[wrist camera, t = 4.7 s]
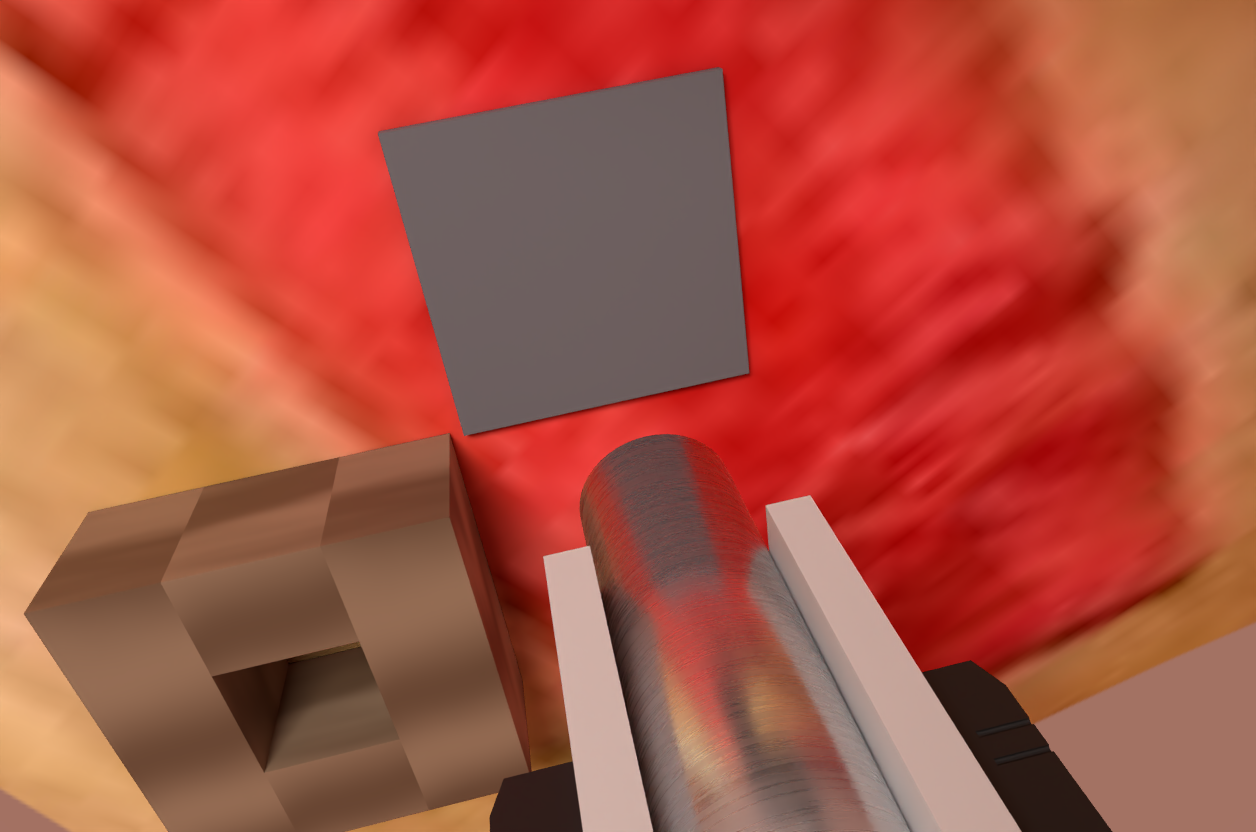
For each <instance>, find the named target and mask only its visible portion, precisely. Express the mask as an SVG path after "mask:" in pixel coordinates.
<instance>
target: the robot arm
mask: <svg viewBox="0 0 1256 832" xmlns="http://www.w3.org/2000/svg"><path fill="white" fill-rule="evenodd" d="M766 517H767V530H768V542H769V553H770V555H771V557H772V559H773V561H774V563H775V565H776V567H777V569H778V571H779V573H780V575H781V577H782V578H783V580H784V582H785V584H786V586H787V588H788V590H789V592H790V594H791V596H792V598H793V600H794V602H795V604H796V606H797V608H798V610H799V612H800V614H801V616H802V618H803V620H804V622H805V624H806V626H807V628H808V630H809V632H810V634H811V636H812V638H813V640H814V642H815V644H816V646H817V648H818V650H819V652H820V654H821V656H822V658H823V660H824V662H825V664H826V666H827V668H828V669H829V671H830V673H831V675H832V677H833V679H834V681H835V683H836V685H837V687H838V689H839V691H840V693H841V695H842V697H843V699H844V701H845V703H846V705H847V707H848V709H849V711H850V713H851V715H852V717H853V719H854V721H855V723H856V725H857V727H858V729H859V731H860V733H861V735H862V737H863V739H864V741H865V743H866V745H867V747H868V749H869V751H870V753H871V755H872V757H873V758H874V760H875V762H876V764H877V766H878V768H879V770H880V772H881V774H882V776H883V778H884V780H885V782H886V784H887V786H888V788H889V790H890V792H891V794H892V796H893V798H894V800H895V802H896V804H897V806H898V808H899V810H900V812H901V814H902V816H903V818H904V820H905V822H906V824H907V826H908V828H909V830H910V832H1112V831H1111V829H1110V828H1109V827H1108V826H1107V824H1106V823H1105V821H1104V820H1103V819H1102V817H1101V816H1100V814H1099V813H1098V811H1097V810H1096V809H1095V807H1094V806H1093V805H1092V803H1091V802H1090V801H1089V799H1088V798H1087V796H1086V795H1085V794H1084V792H1083V791H1082V790H1081V788H1080V787H1079V785H1078V784H1077V783H1076V781H1075V780H1074V779H1073V777H1072V776H1071V774H1070V773H1069V772H1068V770H1067V769H1066V768H1065V766H1064V765H1063V763H1062V762H1061V761H1060V759H1059V758H1058V757H1057V755H1056V754H1055V752H1051V750H1050V749H1049V744H1048V743H1047V741H1046V740H1045V739H1044V737H1043V736H1042V735H1041V733H1040V732H1039V731H1038V729H1037V728H1036V726H1035V725H1034V724H1031V722H1030V720H1029V717H1028V715H1027V714H1026V713H1025V711H1024V710H1023V709H1022V707H1021V706H1020V704H1019V703H1018V702H1017V700H1016V699H1015V698H1014V696H1013V695H1012V693H1011V692H1010V691H1009V689H1008V688H1007V687H1006V685H1005V684H1003V683H1002V682H1000V681H999V680H998V679H996V678H995V677H993V676H992V675H991V674H989V673H988V672H986V671H985V670H984V669H982V668H981V667H979V666H978V665H976V664H975V663H974V662H972V661H971V660H970V661H966V662H962V663H958V664H954V665H950V666H946V667H942V668H938V669H934V670H930V671H926V672H921V671H920V669H919V668H918V666H917V664H916V663H915V661H914V660H913V658H912V657H911V655H910V653H909V652H908V650H907V649H906V647H905V645H904V644H903V642H902V641H901V639H900V637H899V636H898V634H897V633H896V631H895V629H894V628H893V626H892V625H891V623H890V621H889V620H888V618H887V617H886V615H885V614H884V612H883V610H882V609H881V607H880V606H879V604H878V602H877V601H876V599H875V598H874V596H873V594H872V593H871V591H870V590H869V588H868V586H867V585H866V583H865V582H864V580H863V579H862V577H861V575H860V574H859V572H858V571H857V569H856V567H855V566H854V564H853V563H852V561H851V559H850V558H849V556H848V555H847V553H846V551H845V550H844V548H843V547H842V545H841V543H840V542H839V540H838V539H837V537H836V536H835V534H834V532H833V531H832V529H831V528H830V526H829V524H828V523H827V521H826V520H825V518H824V516H823V515H822V513H821V512H820V510H819V508H818V507H817V505H816V504H815V502H814V501H813V499H812V497H811V496H810V495H809V496H804V497H800V498H796V499H791V500H787V501H783V502H778V503H774V504H769V505H766ZM543 558H544V565H545V572H546V578H547V585H548V592H549V599H550V606H551V613H552V620H553V627H554V634H555V641H556V648H557V655H558V662H559V668H560V675H561V682H562V689H563V696H564V703H565V710H566V717H567V724H568V731H569V738H570V745H571V752H572V759H573V761H572V762H568V763H564V764H560V765H556V766H552V767H548V768H544V769H540V770H536V771H532V772H528V773H524V774H520V775H516V776H512V777H508V778H504V779H503V782H502V785H501V787H500V790H499V793H498V796H497V798H496V801H495V804H494V807H493V809H492V812H491V815H490V832H653V828H652V824H651V819H650V815H649V810H648V806H647V801H646V797H645V792H644V788H643V783H642V779H641V774H640V770H639V765H638V761H637V756H636V752H635V747H634V743H633V738H632V734H631V729H630V725H629V720H628V716H627V711H626V707H625V702H624V698H623V693H622V689H621V684H620V680H619V675H618V671H617V666H616V662H615V657H614V653H613V648H612V644H611V639H610V635H609V630H608V626H607V621H606V617H605V612H604V608H603V603H602V599H601V594H600V590H599V585H598V581H597V576H596V572H595V567H594V563H593V558H592V554H591V549H590V546H586V547H582V548H578V549H573V550H569V551H565V552H560V553H556V554H551V555H547V556H543Z"/></svg>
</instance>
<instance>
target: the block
mask: <svg viewBox="0 0 1256 832" xmlns="http://www.w3.org/2000/svg"><path fill="white" fill-rule="evenodd" d="M24 615H25V616H26V618H27V619H28V621H29V622H30V624H31V625H32V627H33V628H34V630H35V631H36V633H37V635H38V636H39V638H40V639H41V641H42V642H43V644H44V645H45V647H46V648H47V650H48V651H49V653H50V654H51V656H52V657H53V659H54V660H55V662H56V663H57V665H58V666H59V668H60V669H61V671H62V672H63V674H64V675H65V677H66V678H67V680H68V681H69V683H70V684H71V686H72V687H73V689H74V690H75V692H76V693H77V695H78V696H79V698H80V699H81V701H82V702H83V704H84V705H85V707H86V708H87V710H88V711H89V713H90V714H91V716H92V717H93V719H94V720H95V722H96V723H97V725H98V726H99V728H100V729H101V731H102V733H103V734H104V736H105V737H106V739H107V740H108V742H109V743H110V745H111V746H112V748H113V749H114V751H115V752H116V754H117V755H118V757H119V758H120V760H121V761H122V763H123V764H124V766H125V767H126V769H127V770H128V772H129V773H130V775H131V776H132V778H133V779H134V781H135V782H136V784H137V785H138V787H139V788H140V790H141V791H142V793H143V794H144V796H145V797H146V799H147V800H148V802H149V803H150V805H151V806H152V808H153V809H154V811H155V812H156V814H157V815H158V817H159V818H160V820H161V821H162V823H163V824H164V826H165V827H166V829H167V831H168V832H345V831H349V830H353V829H357V828H361V827H365V826H369V825H373V824H377V823H381V822H385V821H389V820H392V819H396V818H400V817H404V816H408V815H412V814H416V813H420V812H424V811H428V810H432V809H436V808H439V807H443V806H447V805H451V804H455V803H459V802H463V801H467V800H471V799H475V798H479V797H483V796H486V795H490V794H494V793H498V792H499V790H500V787H501V785H502V782H503V779H504V778H508V777H512V776H516V775H520V774H524V773H528V772H531V761H530V751H529V741H528V731H527V721H526V711H525V700H524V690H523V681H522V678H521V674H520V671H519V667H518V664H517V661H516V657H515V654H514V650H513V647H512V644H511V640H510V637H509V634H508V630H507V627H506V623H505V620H504V617H503V613H502V610H501V606H500V603H499V600H498V596H497V593H496V589H495V586H494V583H493V579H492V576H491V572H490V569H489V566H488V562H487V559H486V556H485V552H484V549H483V545H482V542H481V539H480V535H479V532H478V528H477V525H476V522H475V518H474V515H473V511H472V508H471V505H470V501H469V498H468V494H467V491H466V488H465V484H464V481H463V477H462V474H461V471H460V467H459V464H458V461H457V457H456V454H455V450H454V447H453V444H452V440H451V437H450V433H448V434H444V435H439V436H435V437H430V438H426V439H421V440H417V441H412V442H407V443H403V444H398V445H394V446H389V447H385V448H380V449H375V450H371V451H366V452H362V453H357V454H353V455H348V456H344V457H339V458H334V459H330V460H325V461H321V462H316V463H312V464H307V465H303V466H298V467H293V468H289V469H284V470H280V471H275V472H271V473H266V474H261V475H257V476H252V477H248V478H243V479H239V480H234V481H230V482H225V483H220V484H216V485H211V486H207V487H202V488H198V489H193V490H189V491H184V492H179V493H175V494H170V495H166V496H161V497H157V498H152V499H147V500H143V501H138V502H134V503H129V504H125V505H120V506H116V507H111V508H106V509H102V510H97V511H93V512H88V514H87V516H86V517H85V519H84V520H83V522H82V523H81V525H80V527H79V528H78V530H77V531H76V533H75V534H74V536H73V537H72V539H71V541H70V542H69V544H68V545H67V547H66V548H65V550H64V552H63V553H62V555H61V556H60V558H59V559H58V561H57V562H56V564H55V566H54V567H53V569H52V570H51V572H50V573H49V575H48V577H47V578H46V580H45V581H44V583H43V584H42V586H41V588H40V589H39V591H38V592H37V594H36V595H35V597H34V598H33V600H32V602H31V603H30V605H29V606H28V608H27V609H26V611H25V613H24ZM355 642H360V644H361V647H359V648H355V649H351V650H346V651H342V652H338V653H334V654H330V655H325V656H321V657H317V658H313V659H309V660H304V661H300V662H296V663H292V664H288V662H287V660H286V659H287V658H292V657H296V656H300V655H304V654H308V653H313V652H317V651H321V650H325V649H329V648H334V647H338V646H342V645H346V644H350V643H355Z"/></svg>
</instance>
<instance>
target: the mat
mask: <svg viewBox="0 0 1256 832" xmlns="http://www.w3.org/2000/svg"><path fill="white" fill-rule="evenodd" d="M378 136H379V139H380V143H381V146H382V150H383V153H384V157H385V160H386V164H387V167H388V171H389V174H390V178H391V181H392V185H393V188H394V192H395V195H396V199H397V202H398V206H399V209H400V213H401V216H402V220H403V223H404V227H405V230H406V234H407V237H408V241H409V244H410V248H411V251H412V255H413V258H414V262H415V265H416V269H417V272H418V276H419V279H420V283H421V286H422V290H423V293H424V297H425V300H426V304H427V307H428V311H429V314H430V318H431V321H432V325H433V328H434V332H435V335H436V339H437V342H438V346H439V349H440V353H441V357H442V360H443V364H444V367H445V371H446V374H447V378H448V381H449V385H450V388H451V392H452V395H453V399H454V402H455V406H456V409H457V413H458V416H459V420H460V423H461V427H462V430H463V434H464V436H466V435H470V434H475V433H479V432H484V431H488V430H493V429H497V428H502V427H507V426H511V425H516V424H520V423H525V422H529V421H534V420H538V419H543V418H548V417H552V416H557V415H561V414H566V413H570V412H575V411H579V410H584V409H588V408H593V407H598V406H602V405H607V404H611V403H616V402H620V401H625V400H629V399H634V398H638V397H643V396H648V395H652V394H657V393H661V392H666V391H670V390H675V389H679V388H684V387H689V386H693V385H698V384H702V383H707V382H711V381H716V380H720V379H725V378H729V377H734V376H739V375H743V374H748V373H749V364H748V353H747V342H746V330H745V319H744V308H743V297H742V285H741V274H740V263H739V251H738V240H737V229H736V218H735V206H734V195H733V184H732V173H731V161H730V150H729V139H728V127H727V116H726V105H725V94H724V82H723V71H722V69H721V68H719V67H717V68H712V69H707V70H701V71H696V72H691V73H685V74H680V75H675V76H670V77H664V78H659V79H654V80H648V81H643V82H638V83H632V84H627V85H622V86H617V87H611V88H606V89H601V90H595V91H590V92H585V93H579V94H574V95H569V96H564V97H558V98H553V99H548V100H542V101H537V102H532V103H526V104H521V105H516V106H511V107H505V108H500V109H495V110H489V111H484V112H479V113H474V114H468V115H463V116H458V117H452V118H447V119H442V120H436V121H431V122H426V123H421V124H415V125H410V126H405V127H399V128H394V129H389V130H383V131H379V133H378Z"/></svg>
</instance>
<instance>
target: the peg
mask: <svg viewBox="0 0 1256 832" xmlns="http://www.w3.org/2000/svg"><path fill="white" fill-rule="evenodd" d="M580 517H581V522H582V527H583V531H584V536H585V540H586V545H587V546H590V549H591V554H592V558H593V563H594V567H595V572H596V576H597V581H598V585H599V590H600V594H601V599H602V603H603V608H604V612H605V617H606V621H607V626H608V630H609V635H610V639H611V644H612V648H613V653H614V657H615V662H616V666H617V671H618V675H619V680H620V684H621V689H622V693H623V698H624V702H625V707H626V711H627V716H628V720H629V725H630V729H631V734H632V738H633V743H634V747H635V752H636V756H637V761H638V765H639V770H640V774H641V779H642V783H643V788H644V792H645V797H646V801H647V806H648V810H649V815H650V819H651V824H652V828H653V832H910V830H909V828H908V826H907V824H906V822H905V820H904V818H903V816H902V814H901V812H900V810H899V808H898V806H897V804H896V802H895V800H894V798H893V796H892V794H891V792H890V790H889V788H888V786H887V784H886V782H885V780H884V778H883V776H882V774H881V772H880V770H879V768H878V766H877V764H876V762H875V760H874V758H873V757H872V755H871V753H870V751H869V749H868V747H867V745H866V743H865V741H864V739H863V737H862V735H861V733H860V731H859V729H858V727H857V725H856V723H855V721H854V719H853V717H852V715H851V713H850V711H849V709H848V707H847V705H846V703H845V701H844V699H843V697H842V695H841V693H840V691H839V689H838V687H837V685H836V683H835V681H834V679H833V677H832V675H831V673H830V671H829V669H828V668H827V666H826V664H825V662H824V660H823V658H822V656H821V654H820V652H819V650H818V648H817V646H816V644H815V642H814V640H813V638H812V636H811V634H810V632H809V630H808V628H807V626H806V624H805V622H804V620H803V618H802V616H801V614H800V612H799V610H798V608H797V606H796V604H795V602H794V600H793V598H792V596H791V594H790V592H789V590H788V588H787V586H786V584H785V582H784V580H783V578H782V577H781V575H780V573H779V571H778V569H777V567H776V565H775V563H774V561H773V559H772V557H771V555H770V553H769V551H768V549H767V547H766V545H765V543H764V541H763V539H762V537H761V535H760V533H759V531H758V529H757V527H756V525H755V523H754V521H753V519H752V517H751V515H750V513H749V511H748V509H747V507H746V505H745V503H744V501H743V499H742V497H741V495H740V493H739V491H738V489H737V488H736V486H735V484H734V482H733V480H732V478H731V476H730V474H729V472H728V470H727V468H726V466H725V464H724V462H723V461H722V460H721V458H720V457H719V456H718V455H717V454H716V453H715V452H714V451H713V450H712V449H711V448H709V447H708V446H706V445H705V444H703V443H701V442H699V441H697V440H695V439H692V438H688V437H685V436H679V435H670V434H663V435H652V436H646V437H643V438H639V439H636V440H633V441H631V442H628V443H626V444H624V445H622V446H620V447H618V448H617V449H615V450H614V451H612V452H611V453H609V454H608V455H607V456H606V457H605V458H603V459H602V460H601V461H600V462H599V463H598V464H597V466H596V467H595V468H594V469H593V471H592V472H591V473H590V475H589V476H588V478H587V480H586V482H585V484H584V487H583V490H582V493H581V498H580Z"/></svg>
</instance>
